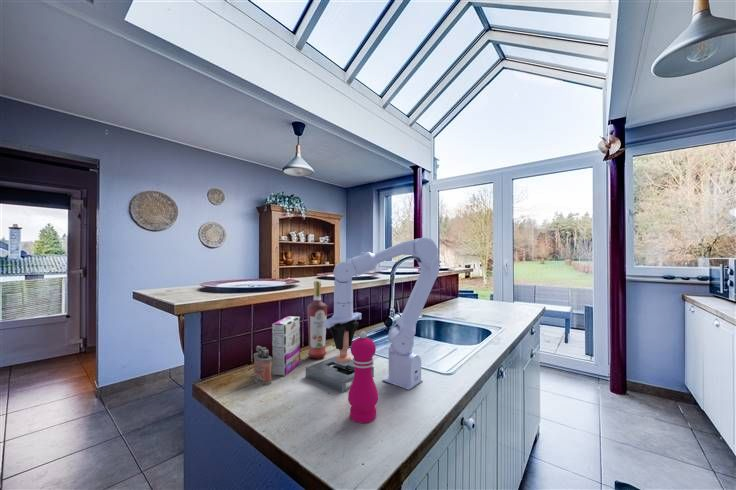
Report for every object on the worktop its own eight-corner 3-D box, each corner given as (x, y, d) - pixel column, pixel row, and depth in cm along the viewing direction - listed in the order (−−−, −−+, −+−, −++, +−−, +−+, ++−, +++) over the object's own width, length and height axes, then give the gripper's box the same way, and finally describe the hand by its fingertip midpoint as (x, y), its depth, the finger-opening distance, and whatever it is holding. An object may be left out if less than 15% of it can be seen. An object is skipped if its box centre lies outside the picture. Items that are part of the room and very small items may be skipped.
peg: (353, 360, 89) (353, 331, 90) (343, 364, 86) (343, 334, 86) (343, 356, 92) (343, 329, 92) (333, 360, 89) (332, 332, 89)
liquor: (310, 361, 105) (310, 282, 106) (304, 355, 112) (304, 281, 112) (329, 358, 109) (330, 281, 109) (322, 352, 115) (323, 280, 116)
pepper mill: (368, 428, 66) (368, 337, 66) (341, 418, 70) (342, 332, 70) (383, 413, 72) (383, 330, 72) (359, 405, 76) (359, 326, 76)
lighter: (274, 383, 88) (274, 349, 89) (263, 386, 86) (263, 351, 86) (261, 375, 94) (261, 343, 94) (250, 378, 91) (251, 345, 92)
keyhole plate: (373, 376, 93) (373, 366, 93) (342, 392, 82) (342, 381, 82) (337, 364, 103) (337, 355, 103) (305, 377, 92) (305, 367, 93)
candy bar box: (287, 362, 105) (287, 315, 105) (300, 363, 104) (300, 316, 104) (270, 375, 94) (271, 323, 94) (285, 376, 93) (285, 323, 93)
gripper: (350, 297, 98) (350, 339, 97) (316, 303, 86) (316, 350, 86) (366, 299, 93) (366, 343, 93) (333, 306, 82) (333, 356, 82)
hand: (343, 347), depth 89 cm, fingers closed on peg, 3 cm apart
